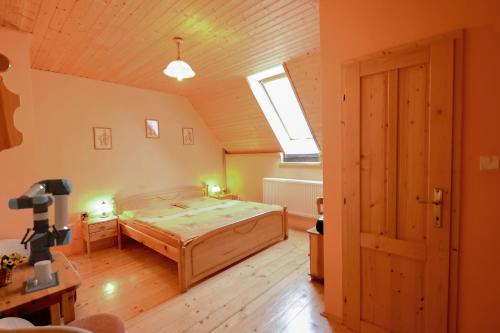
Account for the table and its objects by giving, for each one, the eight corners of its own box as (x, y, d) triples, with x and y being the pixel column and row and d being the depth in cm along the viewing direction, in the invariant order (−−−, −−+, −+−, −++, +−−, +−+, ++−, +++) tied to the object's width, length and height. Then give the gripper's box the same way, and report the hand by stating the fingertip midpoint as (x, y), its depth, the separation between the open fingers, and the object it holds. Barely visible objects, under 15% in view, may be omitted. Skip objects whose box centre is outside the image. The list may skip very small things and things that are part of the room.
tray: (27, 280, 163) (27, 272, 163) (58, 272, 173) (57, 265, 173) (25, 294, 146) (25, 285, 146) (59, 284, 156) (59, 277, 156)
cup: (53, 279, 162) (53, 261, 161) (39, 285, 154) (38, 266, 154) (47, 277, 165) (46, 259, 165) (32, 282, 158) (31, 264, 157)
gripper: (13, 223, 147) (15, 258, 148) (65, 217, 163) (66, 248, 164) (14, 221, 153) (16, 254, 154) (64, 215, 169) (65, 245, 170)
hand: (42, 251), depth 159 cm, fingers open, 13 cm apart
